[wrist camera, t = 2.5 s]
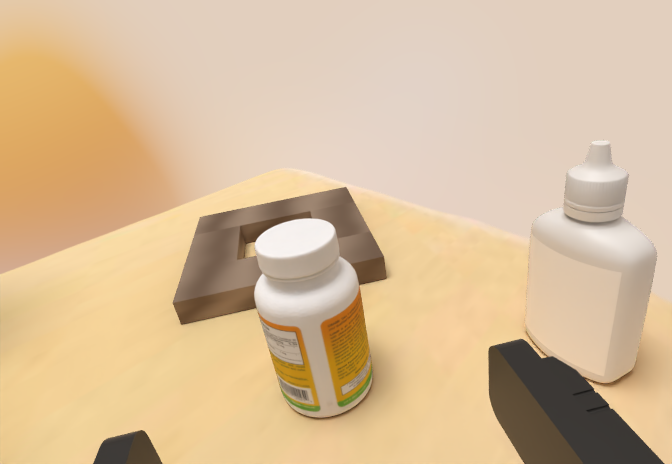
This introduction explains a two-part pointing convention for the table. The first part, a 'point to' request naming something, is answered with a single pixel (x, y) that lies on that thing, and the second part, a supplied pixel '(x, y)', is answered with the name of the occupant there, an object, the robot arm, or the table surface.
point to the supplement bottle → (312, 318)
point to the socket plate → (243, 273)
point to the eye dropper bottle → (590, 273)
